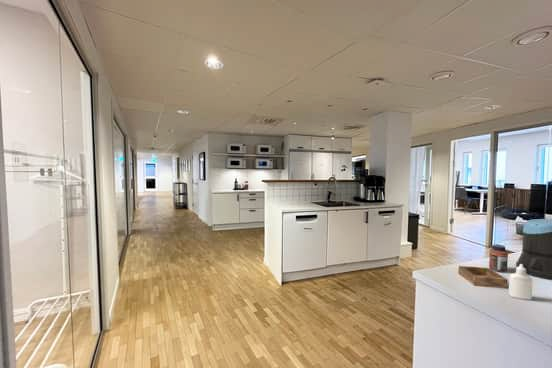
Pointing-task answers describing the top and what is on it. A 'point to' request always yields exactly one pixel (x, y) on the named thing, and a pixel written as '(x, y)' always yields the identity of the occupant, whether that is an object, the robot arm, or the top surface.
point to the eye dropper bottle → (520, 284)
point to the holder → (482, 277)
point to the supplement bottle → (498, 258)
